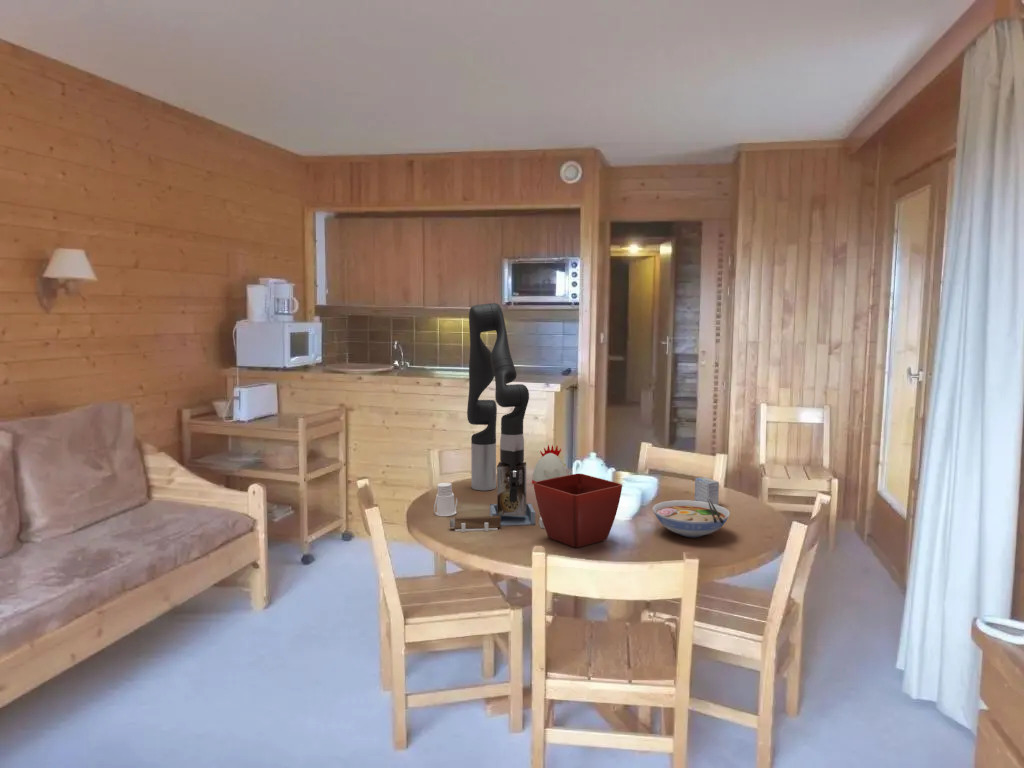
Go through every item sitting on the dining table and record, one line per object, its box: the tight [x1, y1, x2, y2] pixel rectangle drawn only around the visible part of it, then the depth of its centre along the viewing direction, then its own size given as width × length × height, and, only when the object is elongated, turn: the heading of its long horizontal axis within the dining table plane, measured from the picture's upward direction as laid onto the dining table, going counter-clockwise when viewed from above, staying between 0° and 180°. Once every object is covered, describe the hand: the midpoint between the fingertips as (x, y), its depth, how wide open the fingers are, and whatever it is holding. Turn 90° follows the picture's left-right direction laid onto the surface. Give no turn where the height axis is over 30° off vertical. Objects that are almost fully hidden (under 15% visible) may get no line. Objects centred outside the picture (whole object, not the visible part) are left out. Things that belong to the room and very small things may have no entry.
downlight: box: [433, 482, 458, 517], centre depth 242 cm, size 8×7×10 cm
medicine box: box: [694, 476, 720, 505], centre depth 254 cm, size 8×4×9 cm, turn 22°
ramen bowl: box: [652, 499, 731, 538], centre depth 221 cm, size 25×23×8 cm
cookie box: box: [496, 461, 527, 516], centre depth 234 cm, size 9×6×16 cm
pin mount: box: [454, 516, 545, 533], centre depth 227 cm, size 6×28×2 cm, turn 96°
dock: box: [489, 502, 536, 527], centre depth 234 cm, size 10×13×4 cm
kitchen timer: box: [531, 444, 568, 486], centre depth 282 cm, size 14×14×15 cm
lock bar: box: [449, 515, 502, 530], centre depth 226 cm, size 3×16×3 cm, turn 96°
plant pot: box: [533, 473, 623, 548], centre depth 216 cm, size 19×19×17 cm
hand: (511, 498), depth 234 cm, fingers closed on cookie box, 7 cm apart
